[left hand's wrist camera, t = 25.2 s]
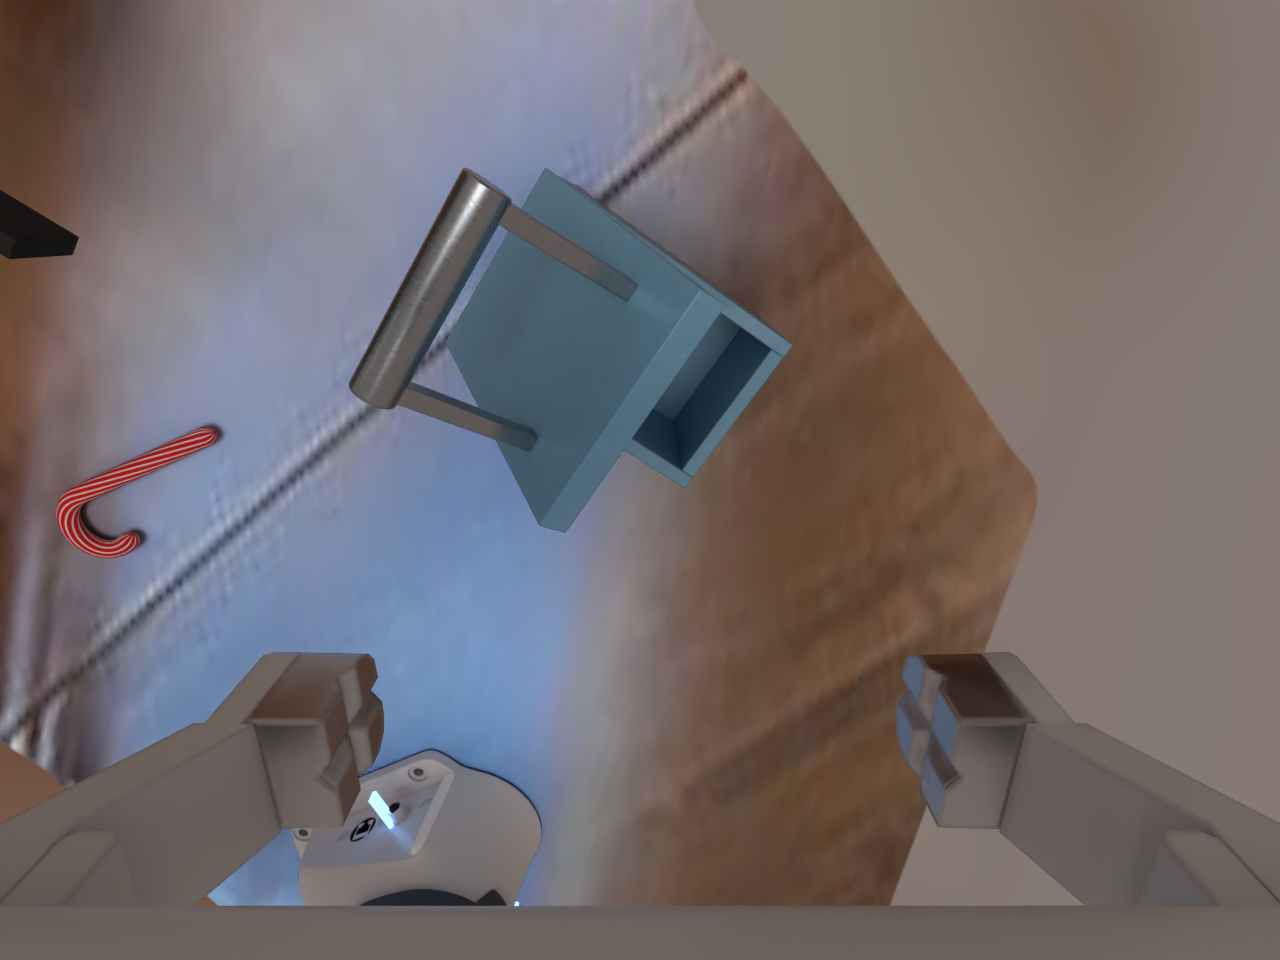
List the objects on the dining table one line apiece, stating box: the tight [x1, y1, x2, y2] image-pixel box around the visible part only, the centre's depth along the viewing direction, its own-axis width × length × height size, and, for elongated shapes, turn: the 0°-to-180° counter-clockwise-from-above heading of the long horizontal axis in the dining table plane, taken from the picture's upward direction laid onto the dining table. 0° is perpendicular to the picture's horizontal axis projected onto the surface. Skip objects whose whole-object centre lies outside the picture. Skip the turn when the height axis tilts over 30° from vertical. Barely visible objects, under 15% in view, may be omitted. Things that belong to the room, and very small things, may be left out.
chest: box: [558, 176, 792, 488], centre depth 41 cm, size 15×10×11 cm
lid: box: [349, 168, 724, 533], centre depth 26 cm, size 15×10×8 cm
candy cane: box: [56, 426, 218, 558], centre depth 50 cm, size 6×15×2 cm, turn 114°
